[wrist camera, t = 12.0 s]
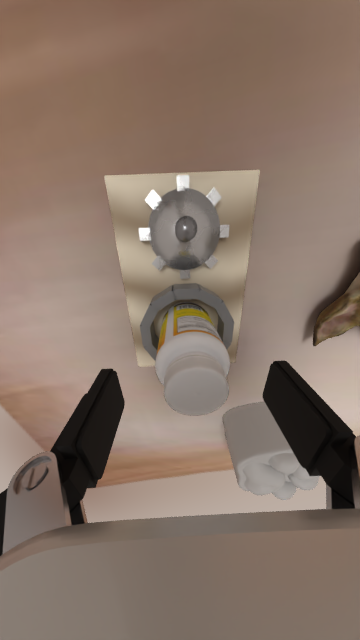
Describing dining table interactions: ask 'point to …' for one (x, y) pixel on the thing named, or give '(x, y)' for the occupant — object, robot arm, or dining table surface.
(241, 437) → the lumpy-topped squat cylinder
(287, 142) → the dining table surface
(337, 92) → the dining table surface
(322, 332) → the ceramic sculpture
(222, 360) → the supplement bottle
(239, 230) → the gear board
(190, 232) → the gear
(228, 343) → the socket ring
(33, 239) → the dining table surface
